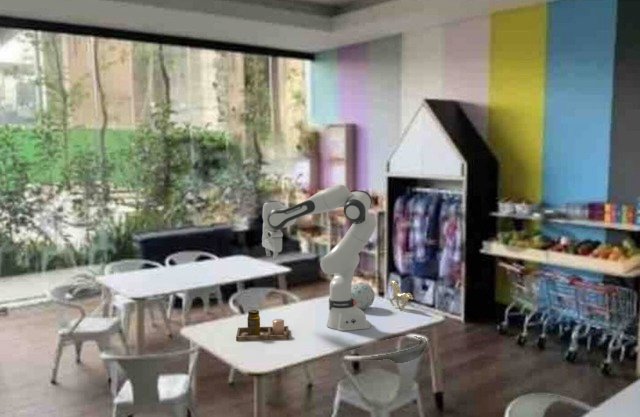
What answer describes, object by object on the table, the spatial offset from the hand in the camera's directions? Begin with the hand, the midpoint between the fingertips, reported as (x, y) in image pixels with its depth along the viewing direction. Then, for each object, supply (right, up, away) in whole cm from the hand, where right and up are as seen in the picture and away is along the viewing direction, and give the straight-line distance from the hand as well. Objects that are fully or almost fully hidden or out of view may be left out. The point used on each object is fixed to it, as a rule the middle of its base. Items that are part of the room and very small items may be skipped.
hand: (271, 258), depth 300 cm
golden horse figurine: (+71, -31, +25) cm, 81 cm away
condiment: (-8, -36, -20) cm, 42 cm away
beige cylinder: (+5, -36, -19) cm, 41 cm away
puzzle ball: (+49, -31, +26) cm, 64 cm away
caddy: (-3, -37, -20) cm, 42 cm away
